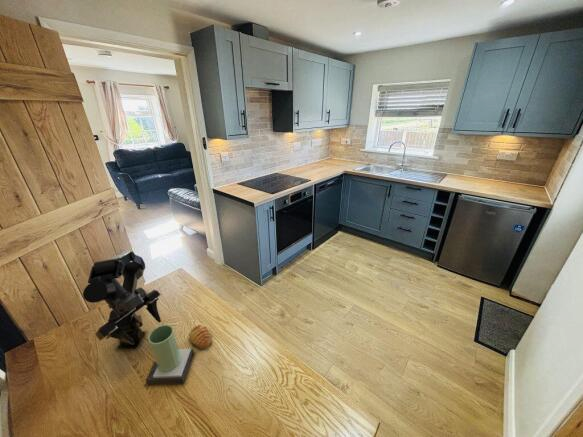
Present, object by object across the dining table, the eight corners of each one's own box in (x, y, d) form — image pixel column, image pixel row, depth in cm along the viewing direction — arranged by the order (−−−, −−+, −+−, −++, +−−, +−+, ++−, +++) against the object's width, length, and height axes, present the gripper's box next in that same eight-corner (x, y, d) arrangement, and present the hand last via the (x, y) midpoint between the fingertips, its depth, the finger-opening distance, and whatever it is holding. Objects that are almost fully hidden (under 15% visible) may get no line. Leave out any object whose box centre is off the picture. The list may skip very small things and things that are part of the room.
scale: (147, 384, 74) (144, 378, 72) (162, 354, 83) (160, 348, 81) (183, 383, 74) (181, 377, 73) (194, 353, 83) (192, 347, 82)
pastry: (216, 342, 87) (214, 335, 85) (198, 354, 83) (196, 347, 81) (204, 327, 93) (202, 320, 92) (187, 337, 89) (185, 330, 87)
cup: (153, 372, 74) (143, 344, 68) (163, 352, 80) (154, 324, 74) (176, 372, 74) (167, 343, 68) (184, 351, 80) (176, 324, 75)
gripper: (88, 308, 64) (126, 351, 64) (150, 270, 79) (180, 305, 80) (81, 320, 70) (116, 359, 71) (140, 282, 86) (168, 314, 86)
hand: (148, 332), depth 77 cm, fingers open, 9 cm apart
